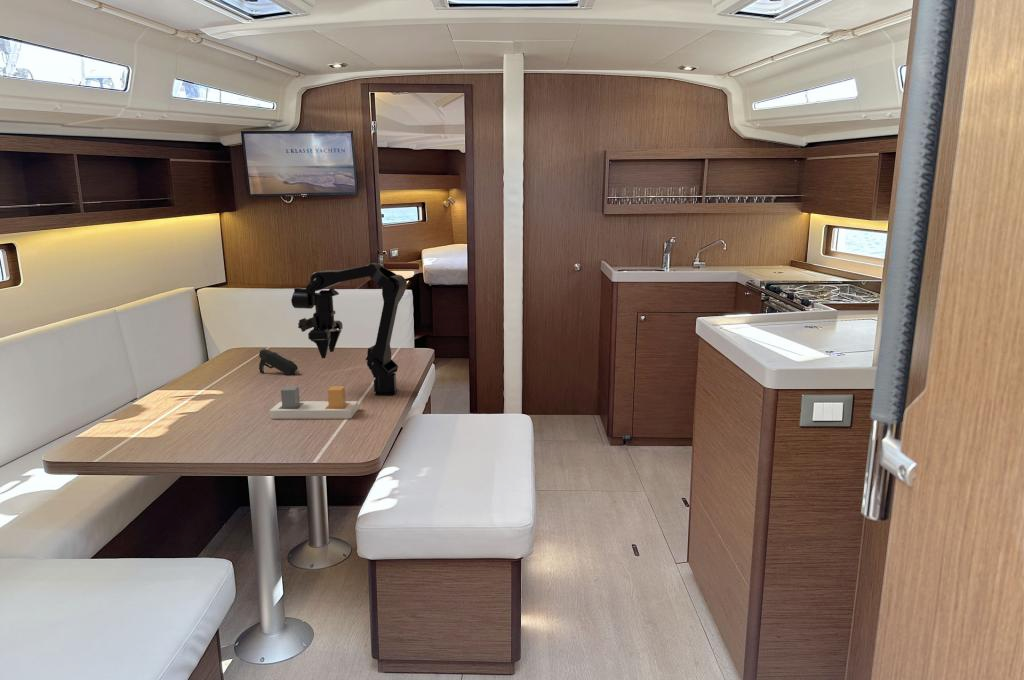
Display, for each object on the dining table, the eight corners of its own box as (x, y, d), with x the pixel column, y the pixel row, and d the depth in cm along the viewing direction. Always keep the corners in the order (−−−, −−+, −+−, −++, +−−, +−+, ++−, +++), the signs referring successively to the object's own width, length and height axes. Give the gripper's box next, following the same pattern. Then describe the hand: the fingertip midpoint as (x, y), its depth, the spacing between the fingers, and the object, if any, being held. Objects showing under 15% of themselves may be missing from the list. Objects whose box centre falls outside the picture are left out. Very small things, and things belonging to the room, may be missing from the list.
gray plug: (300, 411, 209) (298, 386, 207) (296, 415, 205) (294, 390, 204) (287, 411, 209) (285, 386, 208) (283, 416, 205) (280, 390, 204)
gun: (289, 390, 253) (299, 367, 250) (251, 369, 254) (261, 346, 251) (293, 388, 255) (302, 365, 253) (256, 367, 257) (265, 344, 254)
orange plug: (346, 411, 209) (344, 386, 207) (342, 415, 205) (341, 390, 203) (333, 411, 209) (331, 386, 207) (329, 415, 205) (327, 390, 203)
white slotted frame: (358, 409, 211) (357, 401, 210) (350, 418, 202) (350, 410, 202) (280, 409, 212) (280, 401, 211) (269, 418, 203) (269, 410, 202)
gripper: (309, 304, 236) (312, 349, 239) (290, 314, 218) (294, 361, 221) (341, 304, 236) (344, 348, 239) (325, 313, 217) (328, 361, 221)
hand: (327, 355), depth 230 cm, fingers open, 9 cm apart
